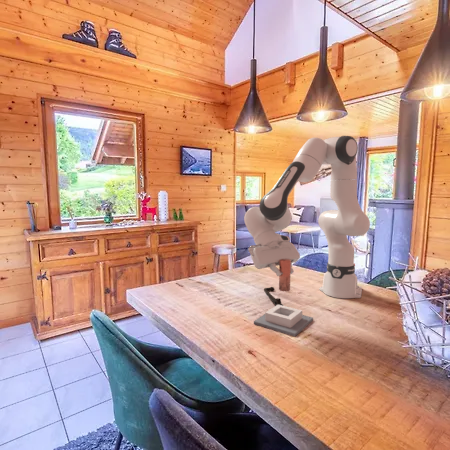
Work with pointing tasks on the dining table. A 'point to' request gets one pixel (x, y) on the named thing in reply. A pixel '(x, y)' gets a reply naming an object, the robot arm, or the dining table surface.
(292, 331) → the socket board
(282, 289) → the pin
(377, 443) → the dining table surface
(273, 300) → the black hooked rod
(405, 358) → the dining table surface
